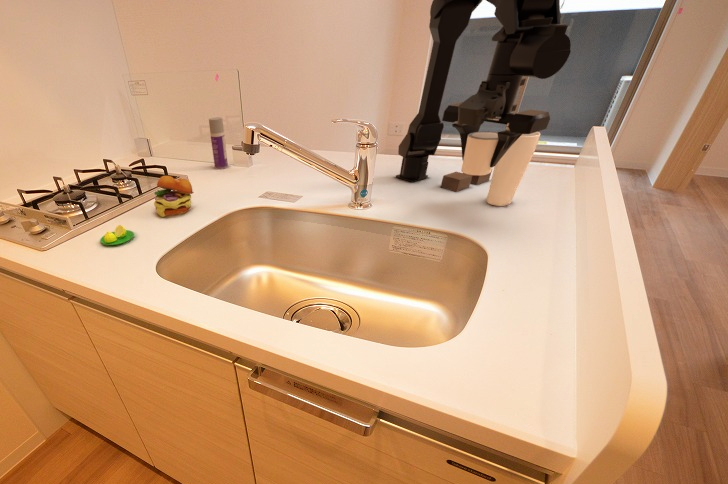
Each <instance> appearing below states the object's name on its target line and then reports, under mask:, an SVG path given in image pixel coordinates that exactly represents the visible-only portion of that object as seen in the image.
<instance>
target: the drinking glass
mask: <svg viewBox="0 0 728 484" xmlns="http://www.w3.org/2000/svg"><path fill="white" fill-rule="evenodd" d="M540 137H541V132H540V131H538V132H534V133H531V134H522V135H521V136H520V137H519V138H518V139H517V140H516V141H515V142H514V143H513V145H512V146H511V147H510V148H509V149H508V150H507V152H506V153H505V154H504V155H503V157H502V158H501V159H500V160H499V162H498V163H497V164H496V165H495V166H494V167H493V170H492V171H493V172H492V176H491V179H490V180H491V181H490V184H489V189H488V192H487V195H486V198H485V202H486V203H487V204H489V205H492V206H495V207H505V206H506V207H507V206H509V205H510V204H511V203H512V202H513V199H514V197H515V194H516V192H517V190H518V188H519V186H520V183H521V182H522V179H523V177H524V175H525V173H526V171H527V168H528V166H529V164H530V163H531V160H532V158H533V156H534V153H535V151H536V149H537V147H538V144H539V141H540Z"/></svg>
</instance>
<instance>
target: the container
mask: <svg viewBox="0 0 728 484" xmlns="http://www.w3.org/2000/svg"><path fill="white" fill-rule="evenodd" d="M208 124H209V125H208V127H209V133H210V135H209V136H210V142H211V148H212V149H211V150H212V156H213V163H214V168H215V170H223V169H228V167H229V164H228V155H227V154H228V153H227V146H226V137H225V128H224V122H223V117H220V116H217V117H211V118H208Z"/></svg>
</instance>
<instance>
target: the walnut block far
mask: <svg viewBox="0 0 728 484" xmlns="http://www.w3.org/2000/svg"><path fill="white" fill-rule="evenodd" d="M492 171H493V169H492V170H491V172H490V173H489V174H487V175H472V180H471V183H470V184H472V185H476V186H477V185H481V184H483V183H485V182H489V181H490V178H491V174H492V173H493V172H492ZM464 174H465V173H464ZM468 175H469V174H468Z"/></svg>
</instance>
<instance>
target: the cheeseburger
mask: <svg viewBox="0 0 728 484" xmlns="http://www.w3.org/2000/svg"><path fill="white" fill-rule="evenodd" d="M156 186H157V187H158V188H160V189H161V190H160V189H157V191H154V195H155V196H154V200H155V201H154V203H153V206H154V207H155V211H156V213H157V215H159V217H161V218H164V217H165V218H166V216H174V215H175V216H176V215H181V214H185V213H187V212H189V211H190V209H191V204H192V200H191V199H192V194H194V193H195V192H194V191H193V185H192V183H191V182H190V180H188V179H186V178H181V177H179V178H178V179H176V178H174V177H173V176H171V175H162V176H160V178H159V179H158V180H157V183H156Z"/></svg>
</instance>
